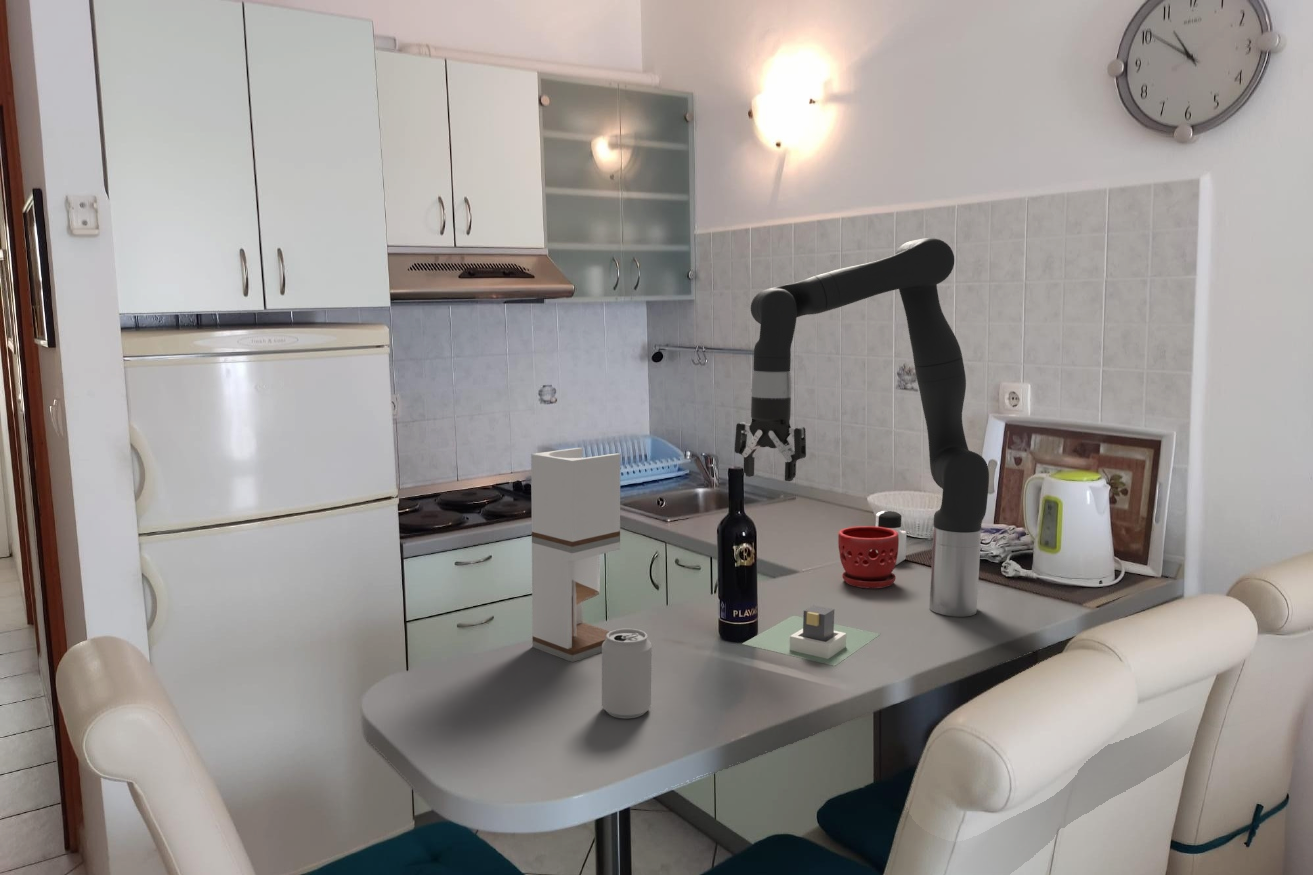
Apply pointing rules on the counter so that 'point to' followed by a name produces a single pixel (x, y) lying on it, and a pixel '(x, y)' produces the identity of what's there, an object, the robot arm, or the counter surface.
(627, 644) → the can
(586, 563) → the white tall box
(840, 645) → the board
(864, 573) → the plant pot
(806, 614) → the plug
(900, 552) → the medicine bottle
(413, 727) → the counter surface
